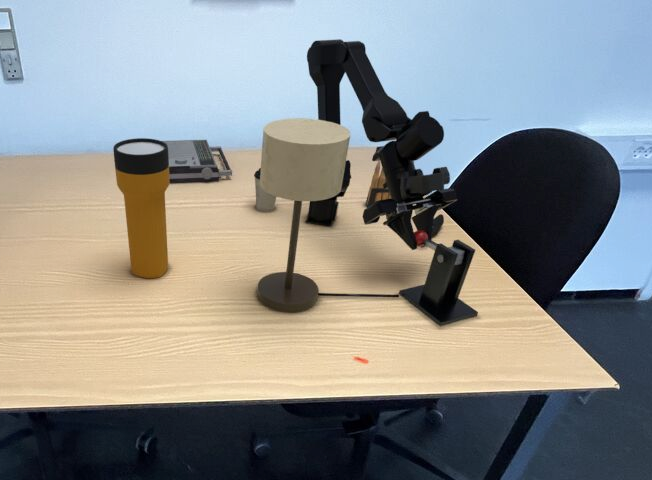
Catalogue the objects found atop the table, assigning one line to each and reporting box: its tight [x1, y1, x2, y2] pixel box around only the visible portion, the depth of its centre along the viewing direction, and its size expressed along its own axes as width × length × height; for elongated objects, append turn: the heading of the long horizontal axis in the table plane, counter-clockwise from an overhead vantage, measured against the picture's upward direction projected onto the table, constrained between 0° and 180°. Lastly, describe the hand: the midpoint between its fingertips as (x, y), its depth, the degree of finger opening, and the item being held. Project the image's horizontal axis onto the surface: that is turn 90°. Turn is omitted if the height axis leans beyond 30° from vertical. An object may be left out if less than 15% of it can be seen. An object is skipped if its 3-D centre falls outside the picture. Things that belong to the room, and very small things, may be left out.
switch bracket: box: [398, 239, 479, 327], centre depth 98 cm, size 12×9×13 cm
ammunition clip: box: [365, 161, 415, 208], centre depth 136 cm, size 11×2×12 cm, turn 93°
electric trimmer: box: [420, 214, 445, 248], centre depth 125 cm, size 4×16×3 cm, turn 142°
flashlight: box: [112, 137, 170, 279], centre depth 103 cm, size 10×26×10 cm
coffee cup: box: [253, 167, 277, 213], centre depth 134 cm, size 7×7×10 cm
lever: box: [414, 229, 465, 265], centre depth 99 cm, size 12×3×3 cm, turn 23°
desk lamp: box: [256, 117, 400, 314], centre depth 94 cm, size 29×14×32 cm, turn 89°
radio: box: [161, 139, 233, 184], centre depth 158 cm, size 24×5×20 cm
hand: (421, 247), depth 102 cm, fingers closed on lever, 3 cm apart
